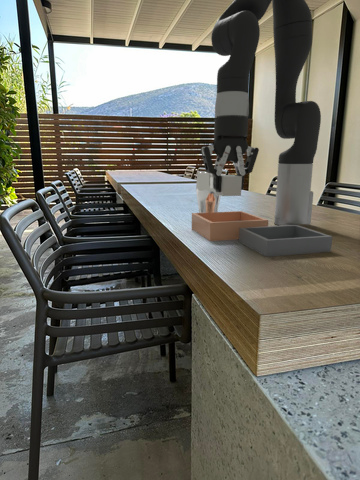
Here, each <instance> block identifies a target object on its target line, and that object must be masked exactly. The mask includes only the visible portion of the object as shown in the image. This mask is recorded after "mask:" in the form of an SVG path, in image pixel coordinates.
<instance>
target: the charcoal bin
mask: <svg viewBox="0 0 360 480" xmlns="http://www.w3.org/2000/svg"><path fill="white" fill-rule="evenodd" d="M238 242H239V243H241V244H243V246H244V245H245V246H246V247H248V248H250V249H251V250H253V251H255V252H257V253H258V254H260V255H262V256H264V257H279V256H293V255H294V256H295V255H304V254H317V253H330V252H332V243H333V236H332V235H328V234H326V233H323V232H320V231H317V230H313V229H310V228H307V227H304V226H301V225H299V224H298V225H268V226H265V227H247V228H239V239H238Z"/></svg>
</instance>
